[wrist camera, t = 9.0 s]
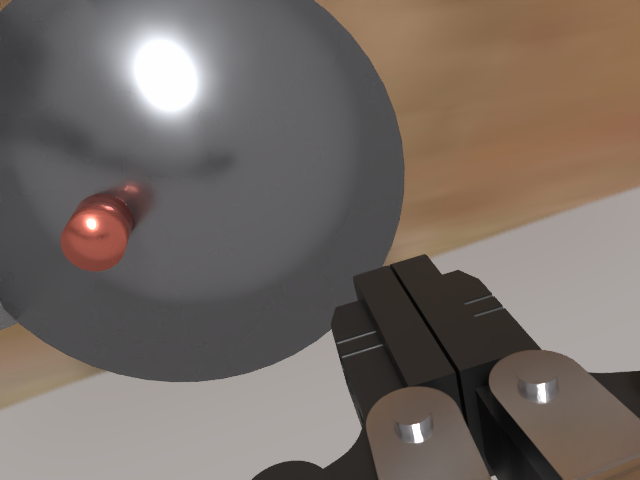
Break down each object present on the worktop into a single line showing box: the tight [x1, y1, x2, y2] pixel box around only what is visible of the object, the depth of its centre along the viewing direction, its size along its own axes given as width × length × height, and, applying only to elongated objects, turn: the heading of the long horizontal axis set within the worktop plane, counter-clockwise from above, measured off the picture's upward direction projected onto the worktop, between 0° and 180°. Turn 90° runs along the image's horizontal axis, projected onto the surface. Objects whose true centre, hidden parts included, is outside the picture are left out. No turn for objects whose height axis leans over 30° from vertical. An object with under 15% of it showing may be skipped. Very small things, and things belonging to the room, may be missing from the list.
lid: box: [0, 0, 404, 382], centre depth 20 cm, size 20×17×3 cm
